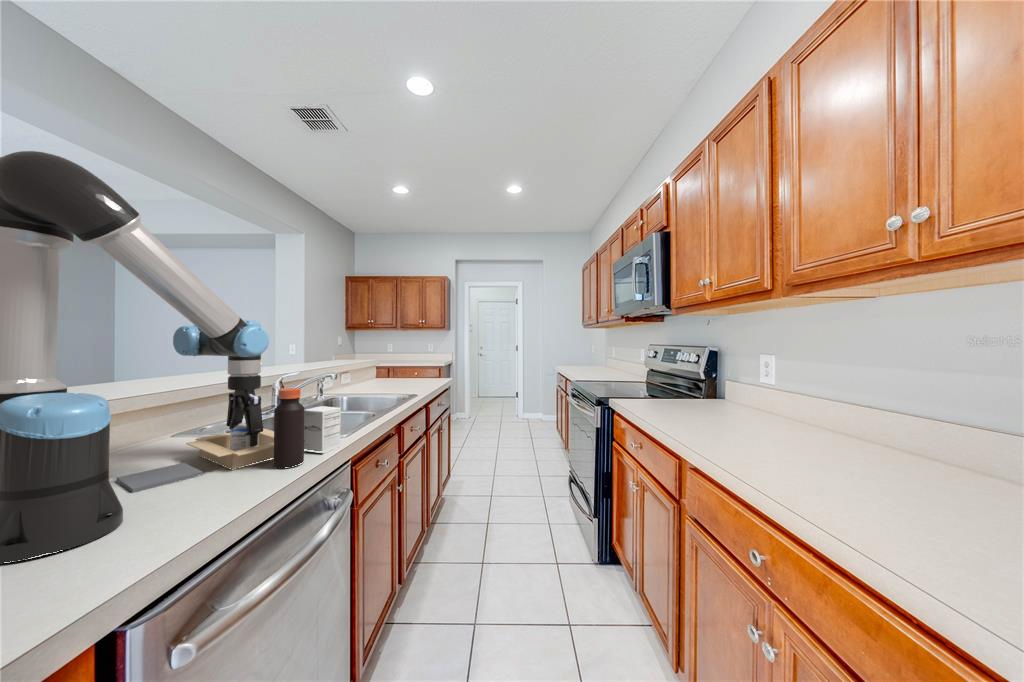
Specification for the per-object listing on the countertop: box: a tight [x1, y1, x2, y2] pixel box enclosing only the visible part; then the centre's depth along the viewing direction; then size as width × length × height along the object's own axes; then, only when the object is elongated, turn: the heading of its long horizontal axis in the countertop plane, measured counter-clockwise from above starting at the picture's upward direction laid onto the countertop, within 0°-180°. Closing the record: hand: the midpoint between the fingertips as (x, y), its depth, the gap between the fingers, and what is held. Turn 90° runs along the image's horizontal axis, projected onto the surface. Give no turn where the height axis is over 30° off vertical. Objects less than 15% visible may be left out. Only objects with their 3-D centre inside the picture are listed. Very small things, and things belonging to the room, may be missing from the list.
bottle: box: [273, 387, 305, 469], centre depth 95 cm, size 7×7×20 cm
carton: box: [185, 428, 274, 470], centre depth 102 cm, size 26×19×4 cm
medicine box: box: [230, 422, 248, 451], centre depth 102 cm, size 8×4×9 cm, turn 25°
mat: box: [116, 462, 203, 493], centre depth 85 cm, size 12×12×1 cm
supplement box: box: [304, 405, 342, 451], centre depth 108 cm, size 7×7×13 cm
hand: (244, 454), depth 102 cm, fingers closed on medicine box, 9 cm apart
